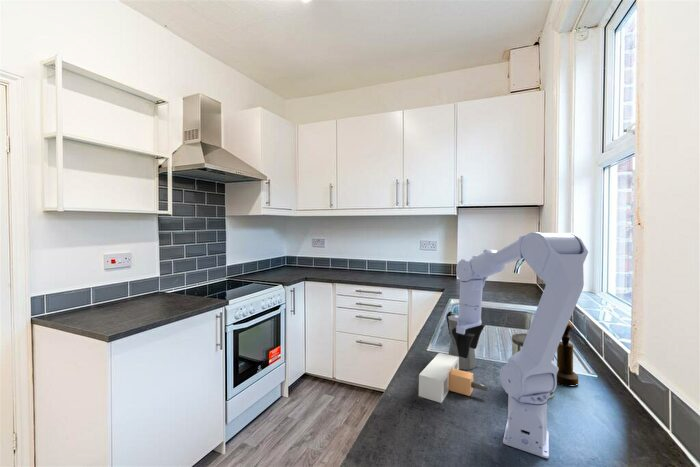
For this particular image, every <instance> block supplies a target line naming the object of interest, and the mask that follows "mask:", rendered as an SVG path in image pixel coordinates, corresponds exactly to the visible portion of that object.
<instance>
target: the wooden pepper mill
mask: <svg viewBox="0 0 700 467" xmlns="http://www.w3.org/2000/svg"><path fill="white" fill-rule="evenodd" d="M572 328H573V324H572V322H571V321H570V320H569V322H568V325H567V327H566V329H565V331H564V334H563V336H562V338H561V341H560V343H559V345H558V348H557V350H556V365H557V367H558V368H559V370H558V372H557V384H558V383H559V385H561V384H563V385H562V386H564V385H576V384H578V385H579V375H578V374H577V373H576V372H575V371H574V344H573V343H570V339H571V336H570V334H569V332H570V331H571V330H572Z"/></svg>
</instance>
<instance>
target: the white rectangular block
mask: <svg viewBox="0 0 700 467" xmlns="http://www.w3.org/2000/svg"><path fill="white" fill-rule="evenodd" d="M448 354H449V353H447V354H446V353H444V352H443V353H442V352H438V353H437V354H436V355H435V357H434V358H433V359H432V360H431V361H430V362H429V363H428V364H427V365H426V366H425V368H423V370H421V372H420V373H419V375H418V397H419V398H424V399H427V400H431V401H433V402H437V403H440V404H443V401H444V400H445V398H446V397H447V395H448V393H449V391H450V390H449V372H450V371H451V369H452V368H453V369H457V370H460V369H459V357H457V356H452V355H448Z"/></svg>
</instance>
